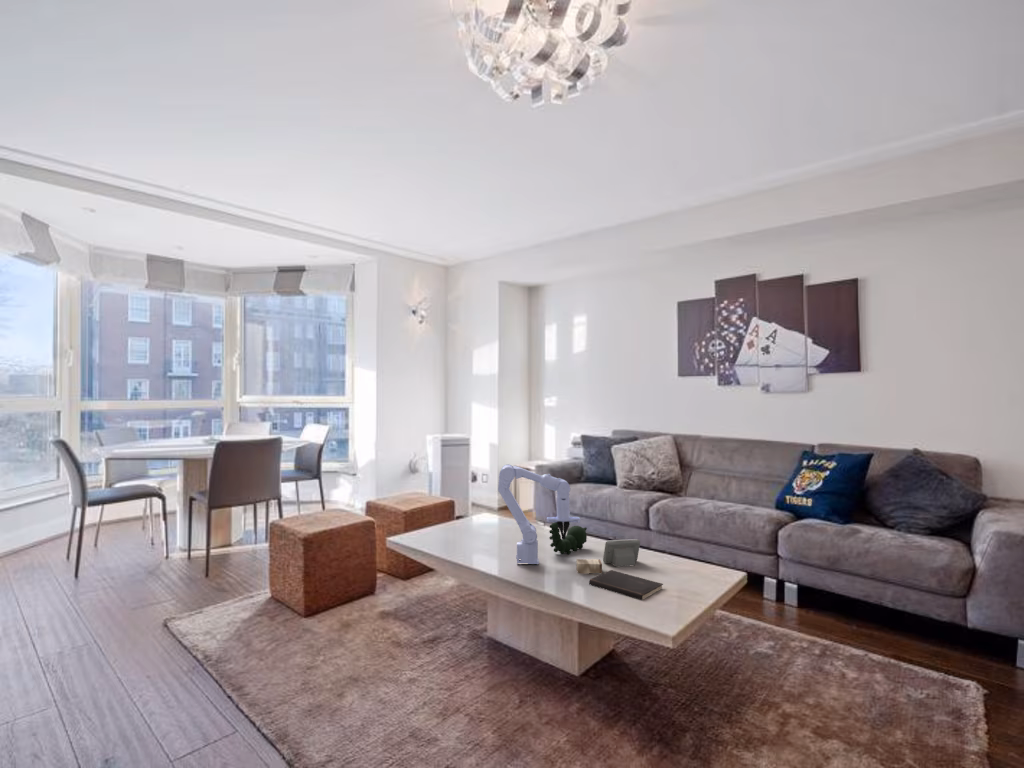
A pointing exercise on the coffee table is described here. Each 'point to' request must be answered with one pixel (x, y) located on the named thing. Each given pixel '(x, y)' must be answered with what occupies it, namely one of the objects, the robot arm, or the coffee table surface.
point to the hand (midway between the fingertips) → (563, 538)
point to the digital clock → (621, 552)
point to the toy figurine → (567, 539)
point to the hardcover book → (626, 584)
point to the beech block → (589, 566)
